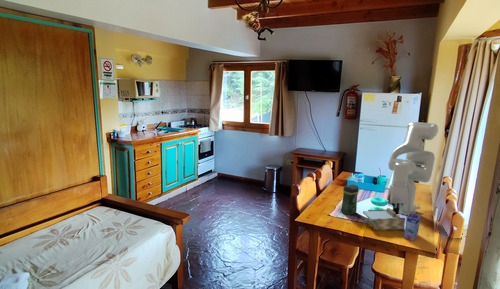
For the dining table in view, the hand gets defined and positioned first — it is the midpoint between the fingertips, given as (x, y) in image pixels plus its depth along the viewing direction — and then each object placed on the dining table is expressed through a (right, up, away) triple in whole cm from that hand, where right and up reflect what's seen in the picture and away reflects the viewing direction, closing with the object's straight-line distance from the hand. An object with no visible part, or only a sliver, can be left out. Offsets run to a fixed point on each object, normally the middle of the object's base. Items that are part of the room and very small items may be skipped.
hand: (395, 213), depth 175 cm
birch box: (-6, -7, +1) cm, 9 cm away
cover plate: (-9, -2, 0) cm, 9 cm away
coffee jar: (-21, -4, +19) cm, 29 cm away
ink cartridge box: (+3, -10, -11) cm, 15 cm away
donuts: (-3, -4, +17) cm, 18 cm away
